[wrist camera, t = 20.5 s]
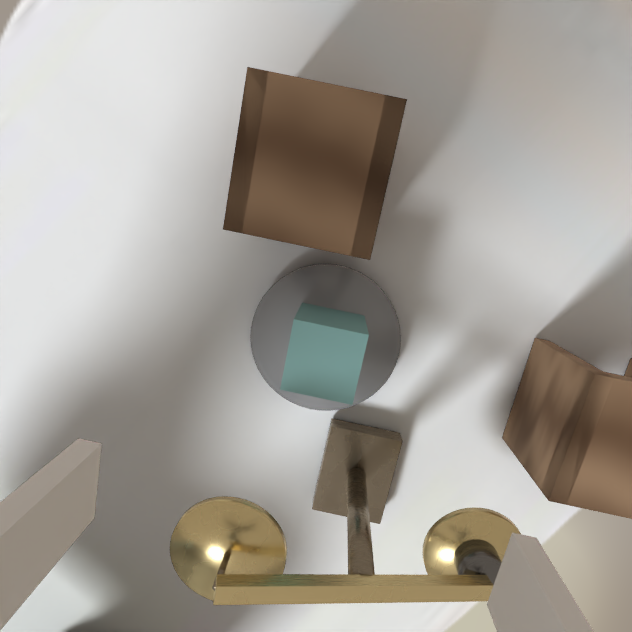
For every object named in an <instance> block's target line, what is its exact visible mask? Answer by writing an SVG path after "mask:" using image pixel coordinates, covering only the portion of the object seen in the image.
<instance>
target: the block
mask: <svg viewBox="0 0 632 632" xmlns="http://www.w3.org/2000/svg"><path fill="white" fill-rule="evenodd" d="M368 337H369V333H368V329H367V324H366V320H365V316H364V315H360V314H355V313H350V312H345V311H341V310H336V309H331V308H326V307H321V306H317V305H312V304H307V303H302V304H301V306H300V308H299V310H298V312H297V314H296V316H295V318H294V320H293V325H292V330H291V336H290V341H289V346H288V351H287V356H286V361H285V366H284V372H283V377H282V382H281V387H280V390H284V391H289V392H294V393H298V394H303V395H308V396H312V397H317V398H322V399H326V400H331V401H336V402H340V403H345V404H350V405H353V400H354V396H355V392H356V388H357V383H358V379H359V375H360V371H361V366H362V362H363V358H364V354H365V350H366V345H367V341H368Z"/></svg>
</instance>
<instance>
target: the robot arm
mask: <svg viewBox="0 0 632 632" xmlns="http://www.w3.org/2000/svg"><path fill="white" fill-rule="evenodd" d="M101 448H102V443H98V442H93V441H89V440H84V439H79V438H78V439H77V440H76V441H75V442H73V443H72V444H71V445H70V446H68V447H67V448H66V449H65V450H64V451H62V452H61V453H60V454H59V455H57V456H56V457H55V458H54V459H53V460H51V461H50V462H49V463H48V464H46V465H45V466H44V467H43V468H42V469H40V470H39V471H38V472H37V473H35V474H34V475H33V476H32V477H31V478H29V479H28V480H27V481H26V482H24V483H23V484H22V485H21V486H20V487H18V488H17V489H16V490H15V491H13V492H12V493H11V494H10V495H9V496H7V497H6V498H5V499H4V500H3V501H1V502H0V630H1V629H2V628H3V627H4V625H5V624H6V623H7V622H8V621H9V619H10V618H11V617H12V616H13V615H14V613H15V612H16V611H17V610H18V609H19V607H20V606H21V605H22V604H23V603H24V602H25V600H26V599H27V598H28V597H29V596H30V594H31V593H32V592H33V591H34V590H35V588H36V587H37V586H38V585H39V584H40V582H41V581H42V580H43V579H44V578H45V576H46V575H47V574H48V573H49V572H50V570H51V569H52V568H53V567H54V566H55V565H56V563H57V562H58V561H59V560H60V559H61V557H62V556H63V555H64V554H65V553H66V551H67V550H68V549H69V548H70V547H71V545H72V544H73V543H74V542H75V541H76V539H77V538H78V537H79V536H80V535H81V533H82V532H83V531H84V530H85V529H86V528H87V526H88V525H89V524H90V523H91V522H92V520H93V519H94V518H95V508H96V498H97V488H98V478H99V468H100V458H101ZM487 606H488V608H489V611H490V614H491V616H492V619H493V622H494V625H495V627H496V630H497V632H594V631H593V629H592V628H591V626H590V624H589V623H588V621H587V620H586V618H585V616H584V615H583V613H582V611H581V610H580V608H579V606H578V605H577V603H576V602H575V600H574V598H573V597H572V595H571V593H570V592H569V590H568V588H567V587H566V585H565V584H564V582H563V581H562V579H561V578H560V576H559V574H558V572H557V571H556V569H555V567H554V566H553V564H552V562H551V561H550V559H549V557H548V556H547V554H546V553H545V551H544V549H543V548H542V546H541V544H540V543H539V541H538V540H537V538H535V537H530V536H526V535H521V534H516V533H512V534H511V537H510V540H509V543H508V546H507V549H506V551H505V554H504V557H503V560H502V563H501V566H500V568H499V571H498V574H497V577H496V580H495V583H494V585H493V588H492V591H491V594H490V597H489V600H488V603H487Z"/></svg>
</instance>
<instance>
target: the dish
mask: <svg viewBox="0 0 632 632" xmlns="http://www.w3.org/2000/svg"><path fill="white" fill-rule="evenodd" d="M302 303H307V304H312V305H317V306H321V307H326V308H331V309H336V310H341V311H345V312H350V313H355V314H360V315H364V316H365V320H366V324H367V329H368V333H369V337H368V341H367V345H366V350H365V354H364V358H363V362H362V366H361V371H360V375H359V379H358V383H357V388H356V392H355V396H354V400H353V405H350V404H345V403H340V402H336V401H331V400H326V399H322V398H317V397H312V396H308V395H303V394H298V393H294V392H289V391H284V390H280V387H281V382H282V377H283V372H284V366H285V361H286V356H287V351H288V346H289V341H290V336H291V330H292V325H293V320H294V318H295V316H296V314H297V312H298V310H299V308H300V306H301V304H302ZM400 342H401V335H400V326H399V322H398V318H397V315H396V313H395V310H394V308H393V306H392V304H391V302H390V301H389V299H388V297H387V296H386V295H385V293H384V292H383V291H382V289H381V288H380V287H379V286H378V285H377V284H376V283H375V282H373V281H372V280H371V279H370V278H368V277H367V276H365V275H363V274H362V273H360V272H358V271H356V270H353V269H351V268H348V267H344V266H341V265H334V264H317V265H310V266H307V267H303V268H300V269H298V270H295V271H293V272H291V273H289V274H287V275H286V276H284V277H283V278H282V279H280V280H279V281H278V282H276V283H275V284H274V285H273V286H272V287H271V288H270V289H269V290H268V291H267V293H266V294H265V295H264V297H263V298H262V300H261V301H260V303H259V305H258V307H257V309H256V312H255V314H254V317H253V321H252V326H251V348H252V354H253V357H254V360H255V363H256V365H257V367H258V370H259V371H260V373H261V375H262V376H263V378H264V379H265V381H266V382H267V383H268V384H269V385H270V387H272V388H273V389H274V390H275V391H276V392H277V393H278V394H279V395H281V396H282V397H284V398H285V399H287V400H289V401H290V402H292V403H294V404H297V405H299V406H302V407H306V408H309V409H315V410H339V409H344V408H348V407H351V406H354V405H356V404H358V403H360V402H362V401H364V400H366V399H368V398H369V397H371V396H372V395H373V394H374V393H376V392H377V391H378V390H379V389H380V388H381V387H382V386H383V385H384V384H385V382H386V381H387V380H388V378H389V377H390V375H391V374H392V372H393V369H394V367H395V365H396V362H397V359H398V356H399V351H400Z"/></svg>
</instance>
